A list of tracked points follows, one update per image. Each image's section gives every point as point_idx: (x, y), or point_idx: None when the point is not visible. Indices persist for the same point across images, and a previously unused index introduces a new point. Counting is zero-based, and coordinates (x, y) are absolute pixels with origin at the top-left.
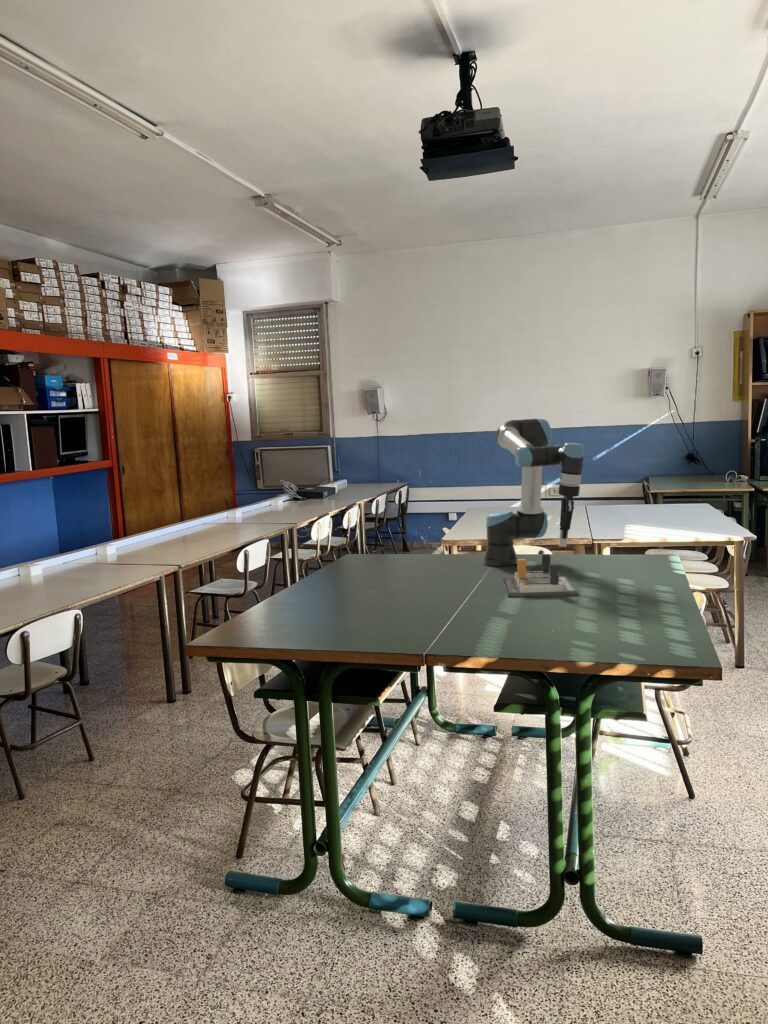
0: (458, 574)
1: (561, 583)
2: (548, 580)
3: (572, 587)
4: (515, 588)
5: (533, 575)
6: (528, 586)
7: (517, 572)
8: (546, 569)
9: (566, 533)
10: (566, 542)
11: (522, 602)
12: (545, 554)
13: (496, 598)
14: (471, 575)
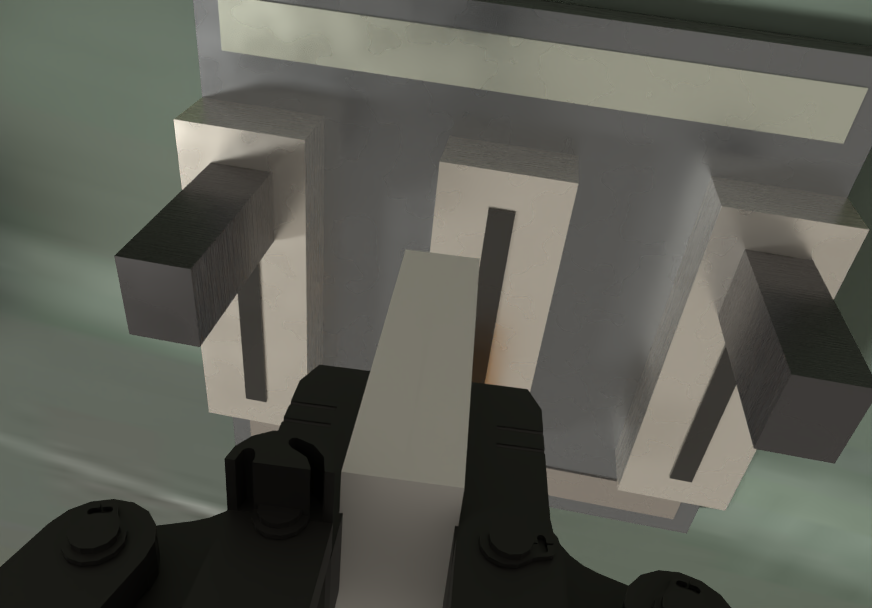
0: (24, 543)
1: (802, 227)
2: (558, 268)
3: (720, 57)
4: (572, 465)
5: (310, 312)
6: (742, 468)
7: (233, 402)
8: (260, 225)
9: (542, 486)
10: (475, 307)
11: (862, 480)
12: (141, 301)
13: (677, 556)
14: (43, 502)
